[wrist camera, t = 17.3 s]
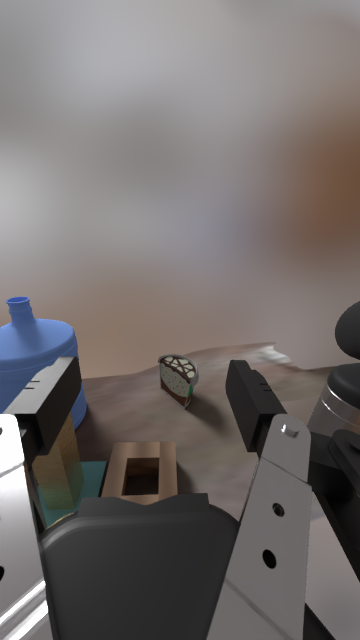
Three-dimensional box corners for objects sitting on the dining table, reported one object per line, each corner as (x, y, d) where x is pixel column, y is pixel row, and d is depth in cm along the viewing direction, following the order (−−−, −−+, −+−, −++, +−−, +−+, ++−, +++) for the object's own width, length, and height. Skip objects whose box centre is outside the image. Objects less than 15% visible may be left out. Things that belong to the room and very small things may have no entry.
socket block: (173, 458, 41) (175, 441, 38) (176, 535, 31) (178, 517, 28) (115, 460, 40) (113, 442, 38) (98, 539, 30) (95, 521, 28)
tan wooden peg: (84, 480, 36) (68, 400, 28) (74, 509, 32) (53, 426, 25) (59, 480, 35) (37, 400, 28) (47, 509, 32) (17, 426, 24)
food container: (205, 400, 55) (210, 369, 51) (189, 413, 51) (193, 380, 47) (173, 376, 63) (175, 348, 58) (157, 385, 59) (158, 355, 54)
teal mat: (106, 463, 39) (106, 461, 39) (89, 535, 30) (88, 533, 30) (50, 464, 38) (49, 462, 38) (14, 539, 29) (13, 537, 29)
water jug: (6, 470, 37) (-57, 328, 25) (3, 411, 48) (-42, 292, 36) (96, 425, 46) (80, 306, 34) (76, 384, 57) (59, 283, 45)
